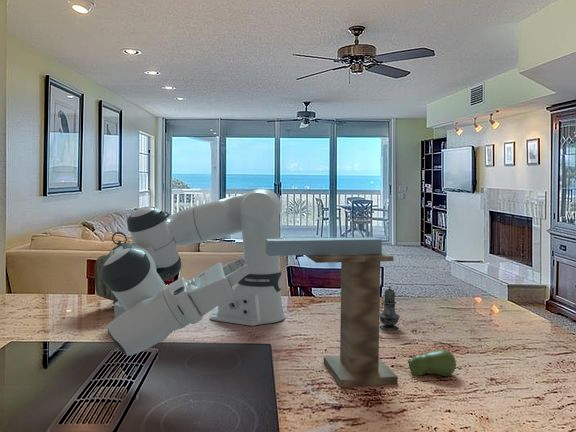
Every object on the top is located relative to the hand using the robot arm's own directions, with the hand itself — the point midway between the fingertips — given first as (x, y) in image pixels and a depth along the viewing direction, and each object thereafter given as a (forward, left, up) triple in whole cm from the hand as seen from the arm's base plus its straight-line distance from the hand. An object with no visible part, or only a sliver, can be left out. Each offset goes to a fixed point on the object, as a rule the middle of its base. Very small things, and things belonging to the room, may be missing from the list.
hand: (246, 263), depth 102 cm
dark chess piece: (+26, +47, -24) cm, 59 cm away
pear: (+37, +15, -25) cm, 47 cm away
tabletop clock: (-59, +44, -24) cm, 78 cm away
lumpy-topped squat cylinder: (-42, +27, -25) cm, 56 cm away
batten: (+14, +7, +2) cm, 16 cm away
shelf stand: (+19, +10, -24) cm, 33 cm away
